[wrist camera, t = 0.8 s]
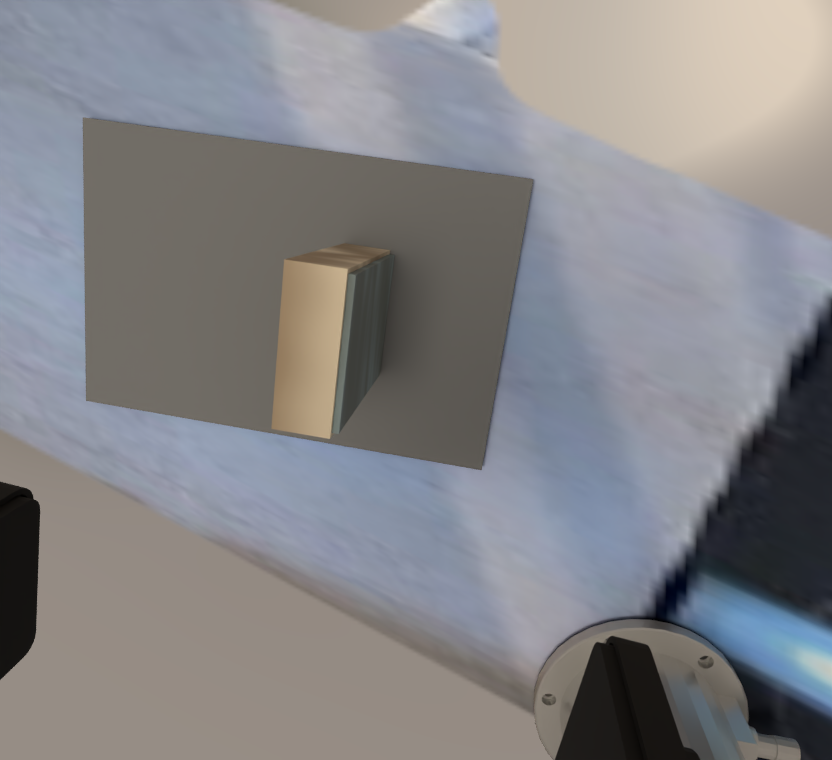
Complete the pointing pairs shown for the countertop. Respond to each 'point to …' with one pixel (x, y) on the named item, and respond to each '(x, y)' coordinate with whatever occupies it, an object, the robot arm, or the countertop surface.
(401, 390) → the mat
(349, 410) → the card box
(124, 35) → the countertop surface
